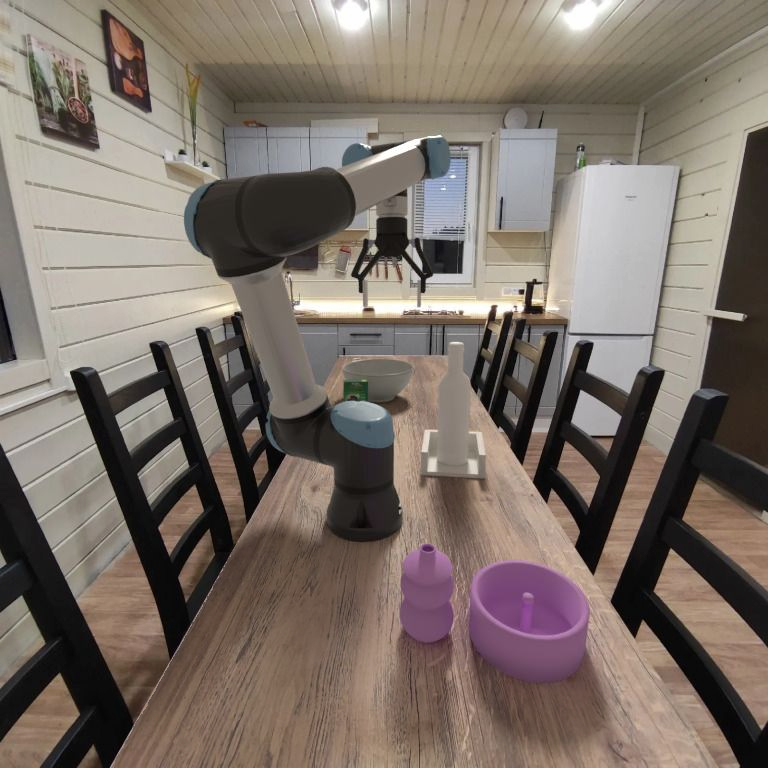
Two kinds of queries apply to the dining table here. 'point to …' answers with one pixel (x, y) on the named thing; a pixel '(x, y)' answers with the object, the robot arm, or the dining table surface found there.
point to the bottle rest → (467, 470)
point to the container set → (501, 613)
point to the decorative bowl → (380, 376)
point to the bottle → (454, 410)
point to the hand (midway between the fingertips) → (392, 306)
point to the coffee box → (355, 390)
